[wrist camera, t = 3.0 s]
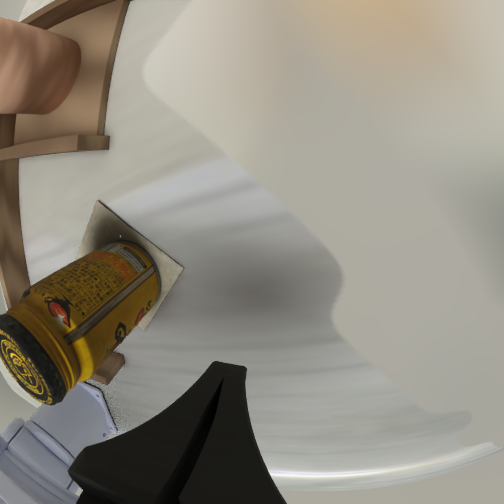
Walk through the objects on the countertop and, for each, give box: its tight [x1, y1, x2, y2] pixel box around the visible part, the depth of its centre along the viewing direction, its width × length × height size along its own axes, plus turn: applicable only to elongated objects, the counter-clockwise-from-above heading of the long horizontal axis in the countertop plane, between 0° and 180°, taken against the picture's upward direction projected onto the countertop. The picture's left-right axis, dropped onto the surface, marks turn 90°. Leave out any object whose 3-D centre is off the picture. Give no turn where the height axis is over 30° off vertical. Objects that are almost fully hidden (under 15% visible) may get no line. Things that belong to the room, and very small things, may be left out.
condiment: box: [0, 200, 184, 406], centre depth 14 cm, size 7×8×12 cm
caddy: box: [0, 0, 131, 385], centre depth 14 cm, size 33×14×10 cm, turn 174°
